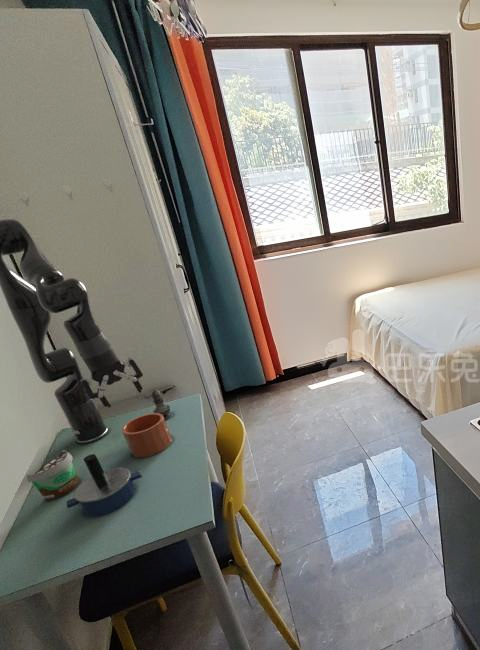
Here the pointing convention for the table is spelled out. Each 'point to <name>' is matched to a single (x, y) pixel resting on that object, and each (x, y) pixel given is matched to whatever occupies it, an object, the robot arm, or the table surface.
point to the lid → (100, 481)
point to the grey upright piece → (161, 405)
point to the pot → (147, 435)
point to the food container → (55, 477)
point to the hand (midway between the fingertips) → (124, 399)
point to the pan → (109, 499)
